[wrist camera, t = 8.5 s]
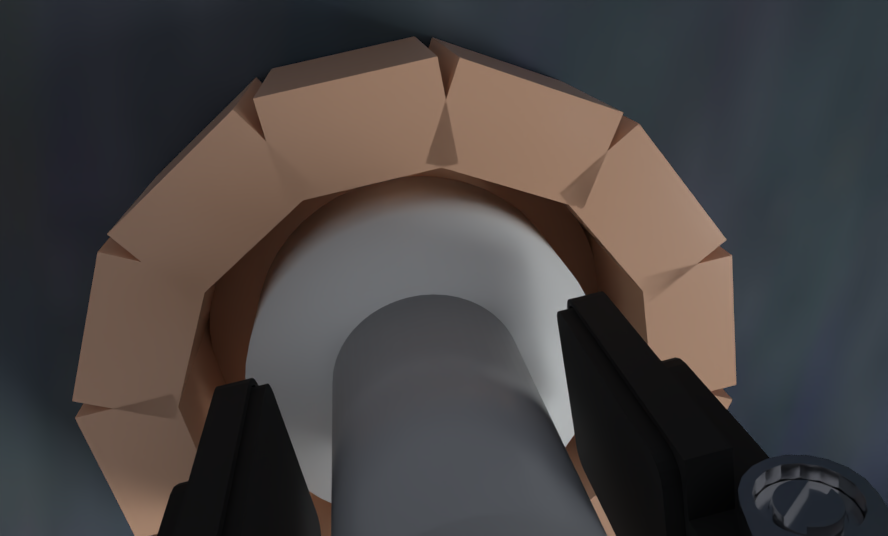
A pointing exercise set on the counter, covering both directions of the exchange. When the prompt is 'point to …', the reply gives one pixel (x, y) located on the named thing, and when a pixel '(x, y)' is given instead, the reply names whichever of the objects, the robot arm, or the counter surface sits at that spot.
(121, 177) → the counter surface
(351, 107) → the tan segmented ring
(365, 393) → the lid
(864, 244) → the counter surface
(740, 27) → the counter surface
